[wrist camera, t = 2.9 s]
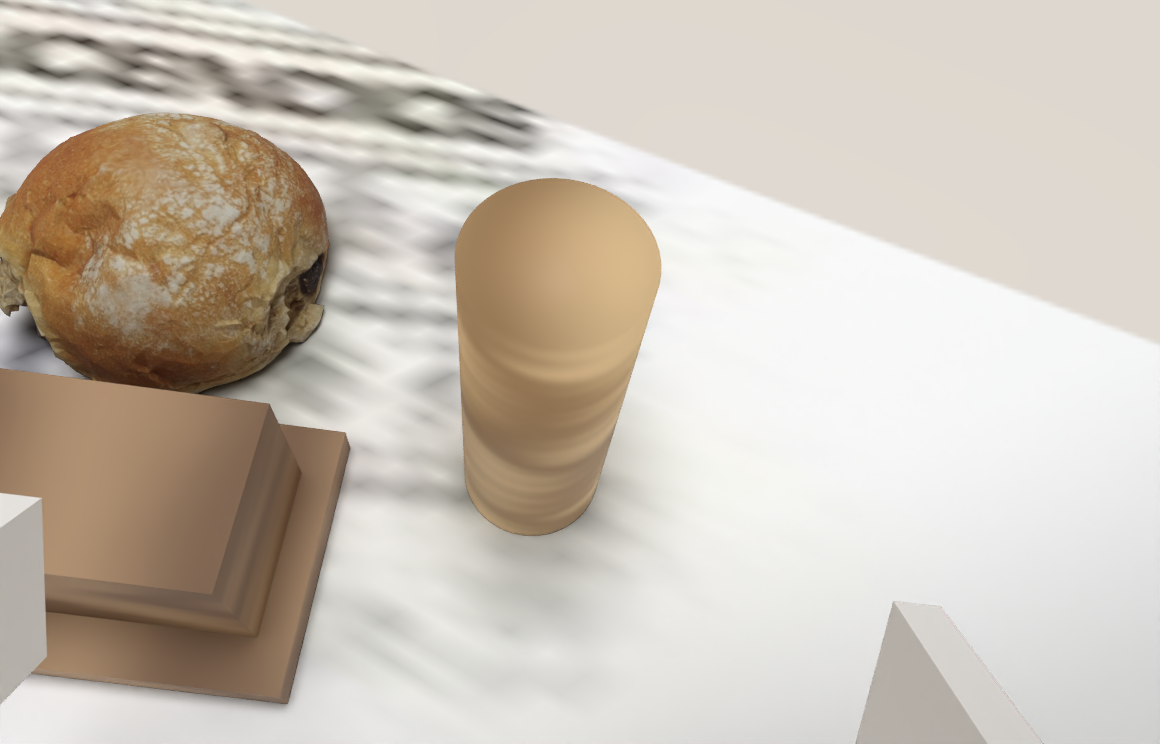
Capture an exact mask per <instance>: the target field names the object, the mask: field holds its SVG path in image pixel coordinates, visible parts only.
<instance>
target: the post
mask: <svg viewBox="0 0 1160 744" xmlns="http://www.w3.org/2000/svg"><path fill="white" fill-rule="evenodd" d="M455 274H456V296H457V318H458V339H459V361H460V383H461V404H462V426H463V447H464V469H465V482H466V487H467V490H468V493H469V496H470V498H471V500H472V502H473V504H474V505H475V507H476V508H477V510H478V511H479V512H480V513H481V514H482V515H483V516H484V517H485V518H486V519H487V520H488V521H490V522H491V523H492V524H494V525H496V526H497V527H499V528H501V529H503V530H505V531H508V532H511V533H515V534H520V535H529V536H535V535H544V534H549V533H553V532H556V531H559V530H561V529H563V528H565V527H567V526H568V525H570V524H571V523H573V522H574V521H575V520H576V519H578V518H579V517H580V516H581V515H582V514H583V512H584V511H585V510H586V509H587V507H588V506H589V504H590V502H591V500H592V498H593V496H594V493H595V490H596V487H597V484H598V480H599V477H600V474H601V471H602V468H603V464H604V461H605V458H606V455H607V452H608V448H609V445H610V442H611V439H612V435H613V432H614V429H615V426H616V423H617V419H618V416H619V413H620V410H621V407H622V403H623V400H624V397H625V394H626V390H627V387H628V384H629V381H630V378H631V374H632V371H633V368H634V365H635V362H636V358H637V355H638V352H639V349H640V345H641V342H642V339H643V336H644V333H645V329H646V326H647V323H648V320H649V316H650V313H651V310H652V307H653V304H654V300H655V297H656V294H657V291H658V288H659V284H660V278H661V258H660V252H659V249H658V246H657V243H656V240H655V238H654V236H653V234H652V232H651V230H650V228H649V227H648V225H647V224H646V222H645V221H644V220H643V219H642V217H641V216H640V215H639V214H638V213H637V212H636V211H635V210H634V209H633V208H632V207H631V206H629V205H628V204H627V203H626V202H624V201H623V200H621V199H620V198H619V197H617V196H615V195H614V194H612V193H610V192H608V191H606V190H604V189H601V188H599V187H597V186H594V185H591V184H588V183H584V182H580V181H575V180H570V179H558V178H546V179H536V180H529V181H525V182H521V183H517V184H514V185H511V186H509V187H506V188H504V189H502V190H500V191H498V192H496V193H495V194H493V195H491V196H490V197H488V198H487V199H486V200H484V201H483V202H482V203H481V204H480V205H478V206H477V207H476V209H475V210H474V211H473V212H472V213H471V214H470V216H469V217H468V218H467V220H466V221H465V223H464V225H463V227H462V229H461V231H460V233H459V236H458V240H457V243H456V249H455Z"/></svg>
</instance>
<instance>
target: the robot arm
mask: <svg viewBox="0 0 1160 744" xmlns="http://www.w3.org/2000/svg"><path fill="white" fill-rule="evenodd" d="M46 657H47V643H46V612H45V582H44V551H43V521H42V498H38V497H30V496H21V495H13V494H5V493H0V704H1V703H2V702H3V701H4V700H5V699H6V698H7V697H8V696H9V695H10V694H11V693H12V692H13V691H14V690H15V689H16V688H17V687H18V686H19V685H20V684H21V683H22V682H23V681H24V680H25V679H26V678H27V677H28V675H29V674H30V673H31V672H32V671H33V670H34V669H35V668H36V667H37V666H38V665H39V664H40V663H41V662H42V661H43V660H44V659H45V658H46ZM856 744H1043V743H1042V742H1041V740H1040V739H1039V738H1038V736H1037V735H1036V734H1035V732H1034V731H1033V730H1032V728H1031V727H1030V726H1029V724H1028V723H1027V721H1026V720H1025V719H1024V717H1023V716H1022V715H1021V713H1020V712H1019V711H1018V709H1017V708H1016V707H1015V705H1014V704H1013V703H1012V701H1011V700H1010V699H1009V697H1008V696H1007V695H1006V693H1005V692H1004V691H1003V689H1002V688H1001V687H1000V685H999V684H998V683H997V681H996V680H995V679H994V677H993V676H992V675H991V673H990V672H989V670H988V669H987V668H986V666H985V665H984V664H983V662H982V661H981V660H980V658H979V657H978V656H977V654H976V653H975V652H974V650H973V649H972V648H971V646H970V645H969V644H968V642H967V641H966V640H965V638H964V637H963V636H962V634H961V633H960V632H959V630H958V629H957V628H956V626H955V625H954V624H953V622H952V621H951V620H950V618H949V617H948V615H947V614H946V613H945V611H944V610H943V609H942V607H939V606H931V605H923V604H915V603H906V602H898V601H893V605H892V608H891V612H890V616H889V620H888V623H887V627H886V631H885V635H884V638H883V642H882V646H881V650H880V654H879V657H878V661H877V665H876V669H875V672H874V676H873V680H872V684H871V687H870V691H869V695H868V699H867V702H866V706H865V710H864V714H863V717H862V721H861V725H860V729H859V733H858V736H857V740H856Z"/></svg>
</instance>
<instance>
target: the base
mask: <svg viewBox="0 0 1160 744" xmlns="http://www.w3.org/2000/svg"><path fill="white" fill-rule="evenodd" d="M349 450H350V446H349V442H348V439H347V436H346V433H345V432H338V431H330V430H322V429H315V428H307V427H299V426H292V425H284V424H279V423H278V421H277V419H276V417H275V415H274V413H273V411H272V408H271V406H270V404H267V403H260V402H252V401H245V400H237V399H229V398H222V397H214V396H207V395H199V394H192V393H184V392H176V391H169V390H161V389H154V388H146V387H138V386H131V385H123V384H116V383H108V382H100V381H93V380H85V379H78V378H70V377H63V376H55V375H47V374H40V373H32V372H25V371H17V370H9V369H2V368H0V493H5V494H13V495H21V496H30V497H38V498H42V521H43V551H44V582H45V612H46V643H47V657H46V658H45V659H44V660H43V661H42V662H41V663H40V664H39V665H38V666H37V667H36V668H35V669H34V670H33V671H32V672H31V674H40V675H48V676H57V677H65V678H73V679H82V680H90V681H99V682H107V683H116V684H124V685H132V686H141V687H149V688H158V689H166V690H174V691H183V692H191V693H200V694H208V695H217V696H225V697H233V698H242V699H250V700H259V701H267V702H276V703H284V704H288V700H289V696H290V692H291V688H292V684H293V680H294V676H295V671H296V667H297V663H298V659H299V655H300V651H301V647H302V643H303V639H304V635H305V630H306V626H307V622H308V618H309V614H310V610H311V606H312V602H313V598H314V594H315V590H316V585H317V581H318V577H319V573H320V569H321V565H322V561H323V557H324V553H325V549H326V544H327V540H328V536H329V532H330V528H331V524H332V520H333V516H334V512H335V508H336V503H337V499H338V495H339V491H340V487H341V483H342V479H343V475H344V471H345V467H346V463H347V458H348V454H349Z"/></svg>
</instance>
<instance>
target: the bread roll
mask: <svg viewBox="0 0 1160 744" xmlns="http://www.w3.org/2000/svg"><path fill="white" fill-rule="evenodd" d="M328 247H329V241H328V232H327V222H326V213H325V209H324V205H323V202H322V200H321V197H320V195H319V192H318V190H317V189H316V187H315V186H314V184H313V183H312V181H311V180H310V178H309V177H308V175H307V174H306V172H305V171H304V170H303V169H302V168H301V166H300V165H299V164H298V163H297V162H296V161H294V160H293V159H292V158H291V157H290V156H289V155H288V154H287V153H285V152H284V151H282V150H281V149H279V148H277V147H276V146H275V145H274V144H273V143H271V142H270V141H268V140H267V139H265V138H262V137H261V136H260V135H259V134H258V133H255V132H253V131H251V130H245V129H243V128H241V127H238V126H235V125H232V124H230V123H227V122H224V121H221V120H217V119H213V118H208V117H202V116H196V115H189V114H173V113H151V114H143V115H137V116H133V117H128V118H125V119H121V120H117V121H113V122H110V123H107V124H104V125H101V126H99V127H96V128H94V129H91V130H88V131H85V132H83V133H81V134H78V135H76V136H74V137H70V138H69V139H68V140H66V141H65V142H63V143H61V144H60V145H58V146H57V147H56V148H55V149H53V150H52V151H51V152H50V153H49V154H48V155H46V156H45V157H44V158H43V159H42V160H41V161H40V162H39V163H38V164H37V166H36V167H35V168H34V169H33V170H32V171H31V172H30V174H29V175H28V176H27V178H26V179H25V181H24V182H23V184H22V185H21V187H20V188H19V190H18V191H17V193H16V194H14V195H12V196H11V197H9V198H8V199H7V202H6V207H5V210H4V212H3V213H2V215H1V217H0V258H1V261H0V308H1V309H2V311H3V312H4V313H5V314H6V315H8V316H9V317H10V314H11V312H12V311H19V306H28V309H29V311H30V313H31V314H32V316H33V318H34V320H35V323H36V331H37V333H38V335H39V337H40V338H42V339H44V340H46V341H48V342H50V345H51V347H52V349H53V352H54V354H55V356H56V357H57V358H59V359H61V360H63V361H64V362H65V363H66V364H67V365H69V366H70V367H72V368H73V369H74V370H75V371H76V372H78V373H80V374H82V375H84V376H86V377H88V378H90V379H92V380H93V381H100V382H108V383H116V384H123V385H131V386H138V387H146V388H154V389H161V390H169V391H176V392H184V393H192V394H198V393H200V392H201V391H203V390H206V389H209V388H212V387H214V386H217V385H221V384H226V383H229V382H232V381H235V380H239V379H242V378H244V377H246V376H248V375H251V374H253V373H255V372H257V371H259V370H262V369H263V368H264V367H265V366H266V365H268V364H269V363H270V362H271V361H273V360H274V359H275V358H276V357H277V356H278V355H279V354H280V353H281V351H282V349H283V348H284V347H285V346H286V345H287V344H289V343H290V342H296V343H298V342H304V341H305V340H306V339H307V338H308V337H309V336H310V334H311V333H312V332H313V330H314V329H315V328H316V327H317V326H318V324H319V322H320V320H321V316H322V312H323V308H324V305H319V304H315V300H316V298H317V296H318V294H319V291H320V286H321V281H322V276H323V272H324V268H325V261H326V259H327V249H328Z"/></svg>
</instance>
